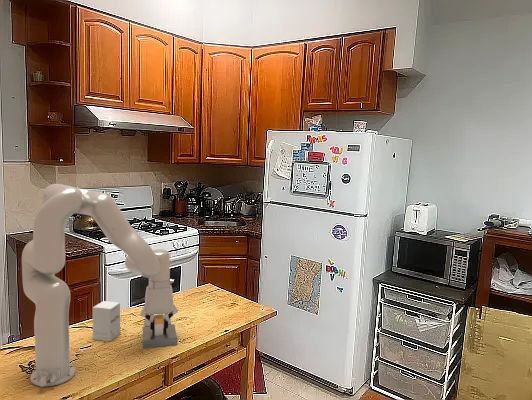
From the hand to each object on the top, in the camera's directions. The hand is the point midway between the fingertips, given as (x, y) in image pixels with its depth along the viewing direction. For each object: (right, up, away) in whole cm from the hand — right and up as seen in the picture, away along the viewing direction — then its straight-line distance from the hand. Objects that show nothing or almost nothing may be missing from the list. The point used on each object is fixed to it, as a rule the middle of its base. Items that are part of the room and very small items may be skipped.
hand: (159, 330), depth 163 cm
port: (0, -4, 0) cm, 4 cm away
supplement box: (-20, -3, +2) cm, 21 cm away
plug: (0, -4, +1) cm, 4 cm away
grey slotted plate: (-4, -2, +14) cm, 14 cm away
